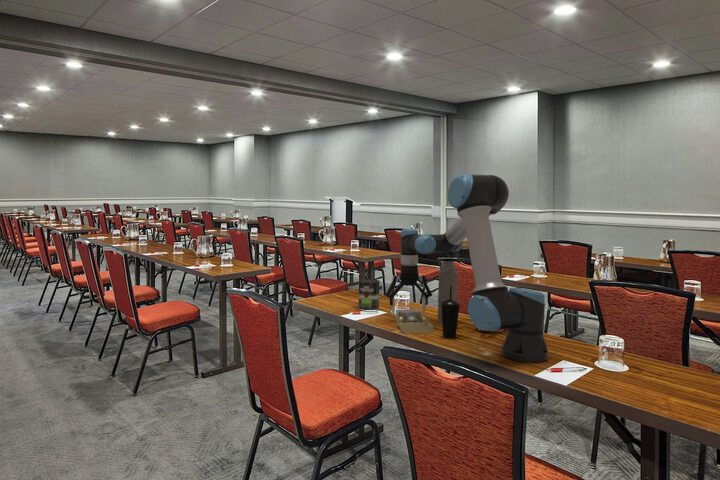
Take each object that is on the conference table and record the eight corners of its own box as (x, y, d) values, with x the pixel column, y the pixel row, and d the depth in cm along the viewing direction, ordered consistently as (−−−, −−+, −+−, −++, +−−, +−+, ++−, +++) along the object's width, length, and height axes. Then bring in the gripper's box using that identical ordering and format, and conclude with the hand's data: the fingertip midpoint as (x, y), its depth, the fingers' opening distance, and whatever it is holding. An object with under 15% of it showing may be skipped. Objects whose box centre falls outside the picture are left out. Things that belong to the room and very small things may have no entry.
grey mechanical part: (395, 320, 218) (395, 309, 218) (417, 320, 220) (417, 309, 219) (400, 327, 207) (401, 315, 206) (424, 327, 208) (424, 315, 207)
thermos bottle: (437, 319, 221) (438, 257, 219) (455, 319, 220) (456, 257, 218) (438, 323, 213) (439, 259, 211) (456, 324, 212) (458, 259, 210)
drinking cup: (459, 340, 188) (460, 288, 186) (439, 339, 189) (440, 287, 188) (459, 335, 195) (460, 285, 194) (440, 333, 197) (441, 284, 195)
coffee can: (376, 312, 233) (376, 283, 232) (355, 310, 236) (355, 281, 235) (381, 308, 243) (382, 279, 242) (361, 306, 246) (362, 278, 245)
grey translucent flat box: (433, 333, 198) (433, 322, 197) (403, 333, 196) (403, 322, 196) (425, 325, 210) (425, 314, 210) (396, 325, 209) (397, 315, 209)
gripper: (434, 263, 219) (434, 310, 221) (379, 263, 216) (379, 311, 218) (439, 265, 212) (438, 313, 213) (382, 265, 209) (381, 315, 210)
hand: (408, 312), depth 216 cm, fingers open, 13 cm apart
